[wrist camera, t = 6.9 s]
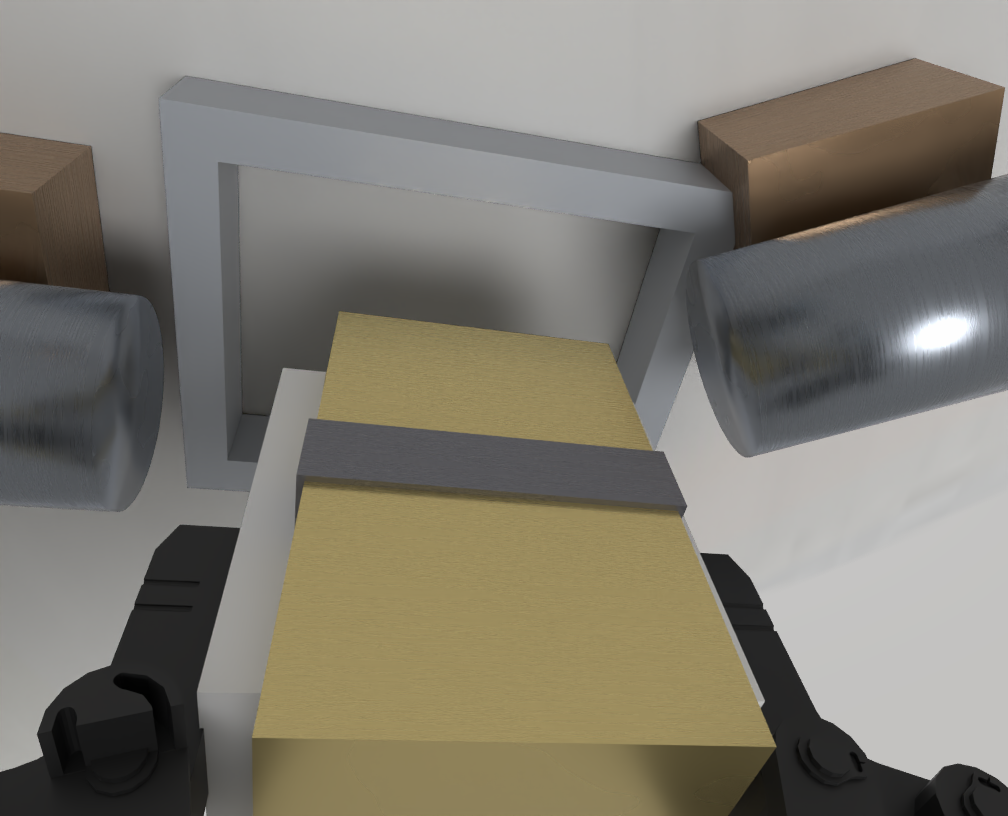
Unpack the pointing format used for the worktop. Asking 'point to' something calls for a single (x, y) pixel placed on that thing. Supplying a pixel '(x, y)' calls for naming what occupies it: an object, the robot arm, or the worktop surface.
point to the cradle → (416, 167)
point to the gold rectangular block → (493, 597)
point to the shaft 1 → (69, 342)
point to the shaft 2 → (854, 257)
